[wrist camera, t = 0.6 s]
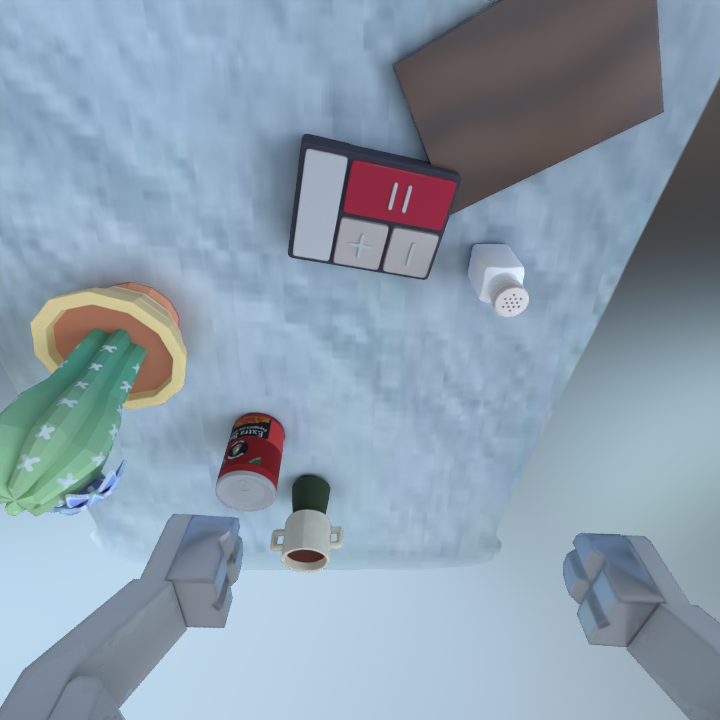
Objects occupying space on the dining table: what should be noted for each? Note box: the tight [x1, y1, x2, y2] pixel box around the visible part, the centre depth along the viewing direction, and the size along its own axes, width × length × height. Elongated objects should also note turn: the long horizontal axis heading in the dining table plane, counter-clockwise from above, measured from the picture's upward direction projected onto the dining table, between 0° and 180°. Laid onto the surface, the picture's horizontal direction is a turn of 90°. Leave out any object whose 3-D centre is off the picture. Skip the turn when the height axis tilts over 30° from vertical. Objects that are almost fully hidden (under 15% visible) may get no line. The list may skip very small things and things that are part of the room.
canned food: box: [216, 413, 285, 511], centre depth 60 cm, size 8×8×11 cm
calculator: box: [288, 134, 461, 280], centre depth 43 cm, size 11×4×15 cm
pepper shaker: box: [468, 244, 529, 317], centre depth 44 cm, size 4×4×10 cm
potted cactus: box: [0, 282, 188, 516], centre depth 42 cm, size 15×15×25 cm
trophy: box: [270, 476, 344, 573], centre depth 67 cm, size 11×7×13 cm, turn 93°
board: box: [392, 0, 664, 215], centre depth 38 cm, size 14×20×1 cm
